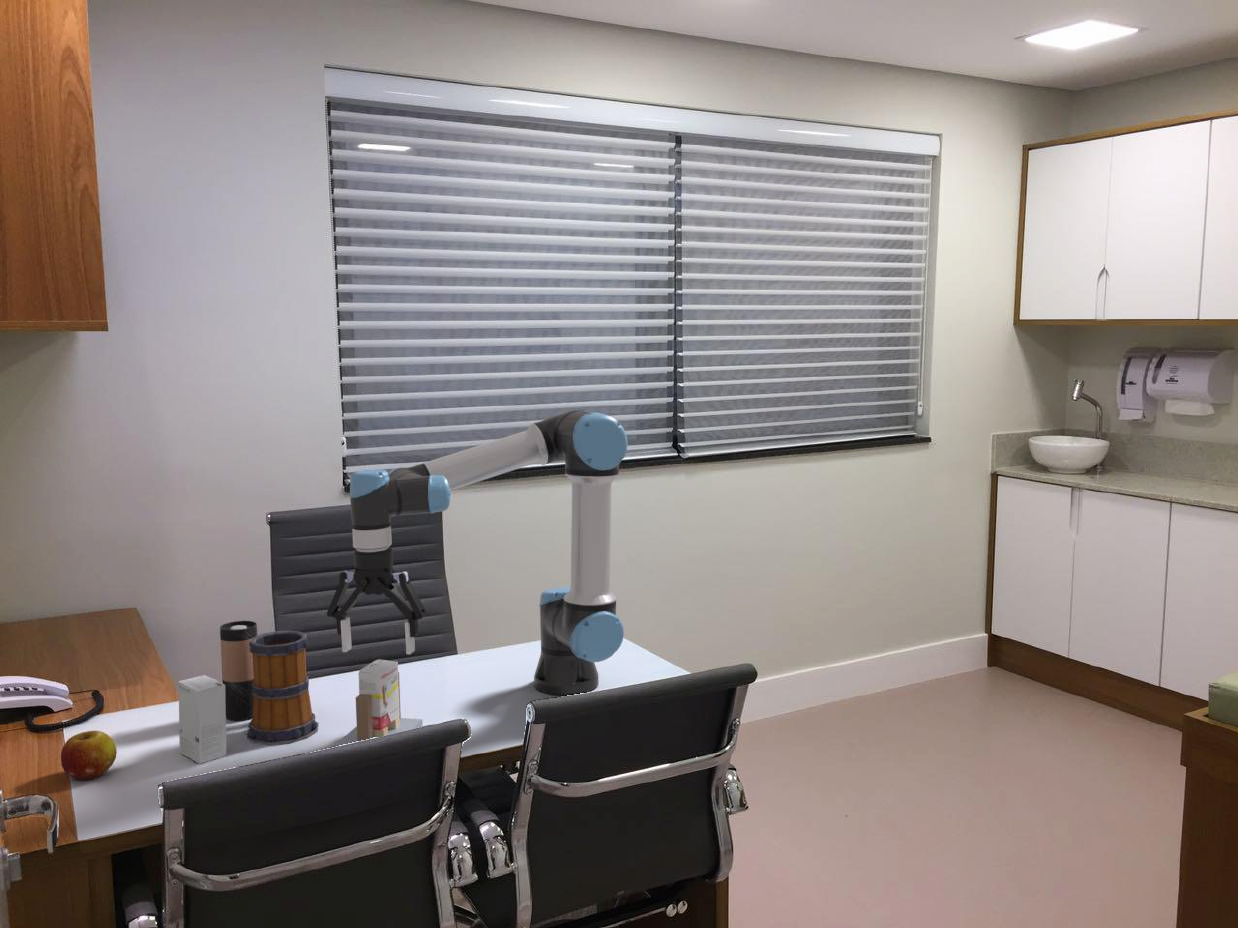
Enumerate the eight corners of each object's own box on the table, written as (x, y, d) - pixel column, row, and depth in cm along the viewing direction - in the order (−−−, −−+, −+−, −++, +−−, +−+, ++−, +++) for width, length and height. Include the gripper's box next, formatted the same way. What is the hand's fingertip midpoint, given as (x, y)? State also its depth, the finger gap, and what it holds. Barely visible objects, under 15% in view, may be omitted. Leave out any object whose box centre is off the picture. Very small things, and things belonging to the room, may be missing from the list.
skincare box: (179, 754, 200) (174, 681, 199) (208, 744, 205) (204, 673, 203) (200, 765, 195) (196, 690, 193) (230, 755, 200) (225, 682, 198)
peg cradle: (422, 725, 214) (420, 673, 213) (392, 756, 198) (390, 699, 197) (368, 722, 216) (366, 670, 215) (334, 752, 201) (332, 696, 199)
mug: (270, 710, 224) (265, 621, 222) (335, 710, 223) (331, 621, 221) (234, 745, 205) (229, 648, 202) (305, 745, 204) (301, 648, 202)
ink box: (381, 731, 202) (379, 673, 201) (358, 728, 203) (356, 671, 202) (401, 715, 210) (399, 660, 209) (379, 713, 212) (377, 658, 210)
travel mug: (269, 710, 224) (264, 622, 221) (245, 723, 216) (241, 631, 214) (240, 707, 226) (235, 619, 224) (216, 719, 219) (211, 628, 217)
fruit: (50, 780, 189) (46, 739, 188) (90, 761, 197) (88, 722, 196) (88, 788, 185) (85, 746, 184) (128, 768, 194) (126, 728, 193)
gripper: (439, 544, 204) (444, 647, 207) (323, 543, 208) (329, 643, 211) (425, 552, 197) (430, 659, 199) (305, 551, 201) (312, 655, 204)
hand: (378, 651), depth 205 cm, fingers open, 13 cm apart
